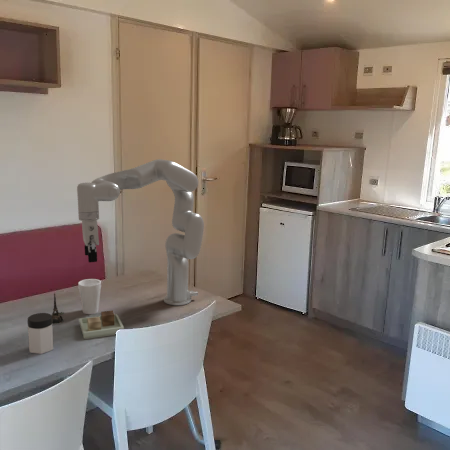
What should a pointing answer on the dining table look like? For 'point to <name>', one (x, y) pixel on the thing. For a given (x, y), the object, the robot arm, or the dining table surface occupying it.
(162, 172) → the robot arm
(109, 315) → the walnut block
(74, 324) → the dining table surface
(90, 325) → the maple block
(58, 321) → the eiffel tower figurine
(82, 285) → the foam cup
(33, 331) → the jar
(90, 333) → the tray
